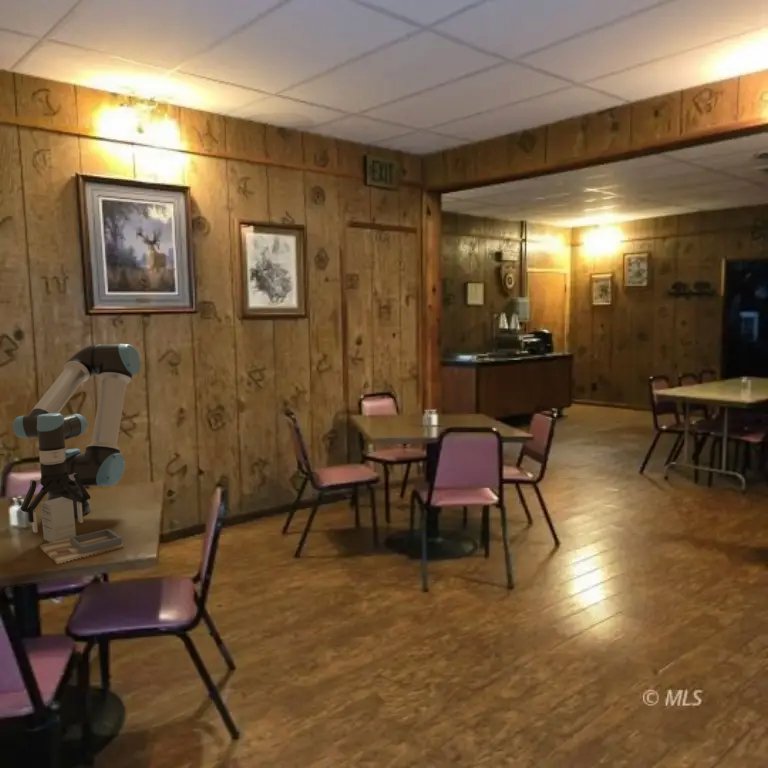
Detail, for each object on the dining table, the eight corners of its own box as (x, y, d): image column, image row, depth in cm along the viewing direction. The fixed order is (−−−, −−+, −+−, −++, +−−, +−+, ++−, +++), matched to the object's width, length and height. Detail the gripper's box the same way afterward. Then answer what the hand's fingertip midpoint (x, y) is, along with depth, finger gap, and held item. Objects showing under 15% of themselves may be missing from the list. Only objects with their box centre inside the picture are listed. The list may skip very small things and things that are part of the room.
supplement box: (66, 533, 215) (63, 496, 214) (76, 537, 210) (73, 500, 209) (43, 539, 209) (39, 501, 208) (53, 544, 205) (50, 505, 203)
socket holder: (70, 543, 202) (69, 537, 202) (108, 534, 210) (108, 528, 209) (82, 553, 193) (81, 547, 193) (121, 543, 201) (121, 537, 201)
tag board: (40, 548, 202) (40, 544, 201) (103, 533, 214) (103, 529, 214) (57, 564, 188) (57, 559, 188) (123, 547, 201) (123, 543, 201)
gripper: (12, 470, 196) (17, 538, 198) (97, 457, 212) (102, 520, 215) (6, 466, 202) (12, 533, 204) (90, 454, 218) (94, 515, 220)
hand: (58, 526), depth 209 cm, fingers open, 13 cm apart
